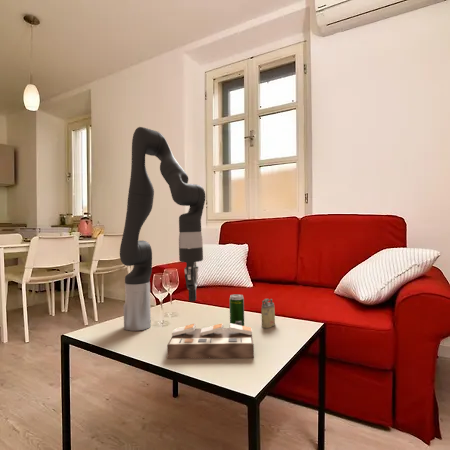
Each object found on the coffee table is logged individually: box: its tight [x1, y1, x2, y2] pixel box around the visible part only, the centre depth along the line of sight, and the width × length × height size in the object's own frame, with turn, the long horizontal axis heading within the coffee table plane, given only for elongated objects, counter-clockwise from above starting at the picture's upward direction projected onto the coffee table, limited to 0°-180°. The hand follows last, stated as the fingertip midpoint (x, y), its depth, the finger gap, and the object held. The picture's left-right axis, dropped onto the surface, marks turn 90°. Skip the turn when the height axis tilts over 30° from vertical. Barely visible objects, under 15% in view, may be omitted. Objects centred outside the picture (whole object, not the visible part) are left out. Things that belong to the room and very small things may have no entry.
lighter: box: [260, 298, 276, 329], centre depth 117 cm, size 7×4×10 cm, turn 145°
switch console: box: [166, 327, 255, 360], centre depth 96 cm, size 25×14×5 cm, turn 88°
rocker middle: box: [200, 322, 224, 336], centre depth 97 cm, size 7×4×1 cm, turn 89°
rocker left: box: [171, 323, 197, 337], centre depth 98 cm, size 7×4×1 cm, turn 89°
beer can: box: [229, 293, 245, 326], centre depth 115 cm, size 5×5×12 cm
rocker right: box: [228, 322, 253, 336], centre depth 97 cm, size 7×4×1 cm, turn 88°
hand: (192, 300), depth 97 cm, fingers closed
